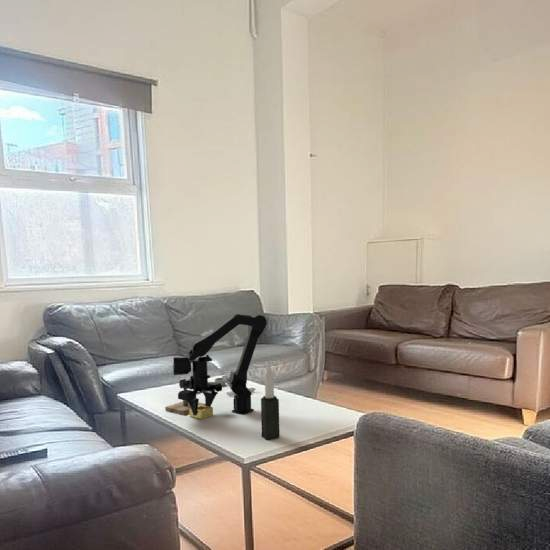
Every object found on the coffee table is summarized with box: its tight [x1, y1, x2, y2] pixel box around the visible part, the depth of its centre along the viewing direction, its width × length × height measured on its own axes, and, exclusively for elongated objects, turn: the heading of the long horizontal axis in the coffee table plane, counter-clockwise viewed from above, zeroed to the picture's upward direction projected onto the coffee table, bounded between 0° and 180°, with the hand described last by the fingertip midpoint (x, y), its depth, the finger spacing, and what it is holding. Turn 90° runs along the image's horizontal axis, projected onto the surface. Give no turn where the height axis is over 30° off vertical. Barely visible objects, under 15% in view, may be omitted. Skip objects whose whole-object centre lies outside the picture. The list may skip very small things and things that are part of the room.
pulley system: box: [208, 374, 230, 387], centre depth 239 cm, size 27×5×15 cm
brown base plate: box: [164, 400, 206, 416], centre depth 197 cm, size 11×12×6 cm
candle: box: [260, 362, 281, 441], centre depth 161 cm, size 5×5×25 cm
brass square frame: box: [188, 405, 214, 420], centre depth 187 cm, size 6×6×3 cm
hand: (201, 413), depth 187 cm, fingers closed on brass square frame, 6 cm apart
